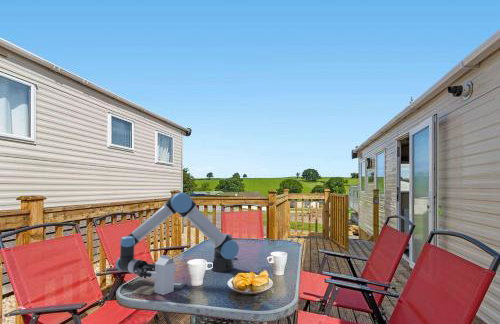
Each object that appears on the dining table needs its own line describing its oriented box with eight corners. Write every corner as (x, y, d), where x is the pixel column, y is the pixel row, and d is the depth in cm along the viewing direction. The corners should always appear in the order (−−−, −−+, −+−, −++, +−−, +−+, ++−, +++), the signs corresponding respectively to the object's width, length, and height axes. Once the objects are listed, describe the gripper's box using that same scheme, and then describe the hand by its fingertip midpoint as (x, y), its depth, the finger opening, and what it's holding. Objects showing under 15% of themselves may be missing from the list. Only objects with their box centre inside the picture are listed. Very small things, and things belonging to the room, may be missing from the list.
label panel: (186, 284, 177) (186, 281, 177) (180, 289, 168) (180, 286, 168) (160, 282, 180) (160, 280, 180) (152, 287, 171) (153, 285, 171)
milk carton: (163, 295, 159) (164, 257, 160) (154, 292, 163) (155, 255, 164) (173, 291, 165) (174, 255, 166) (164, 289, 169) (165, 253, 170)
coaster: (159, 288, 170) (159, 286, 170) (150, 294, 160) (150, 293, 160) (142, 287, 171) (142, 285, 171) (132, 293, 161) (132, 291, 161)
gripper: (155, 268, 185) (182, 274, 174) (119, 279, 163) (147, 286, 153) (155, 255, 185) (182, 260, 175) (119, 264, 164) (148, 270, 153)
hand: (166, 272), depth 164 cm, fingers open, 13 cm apart
